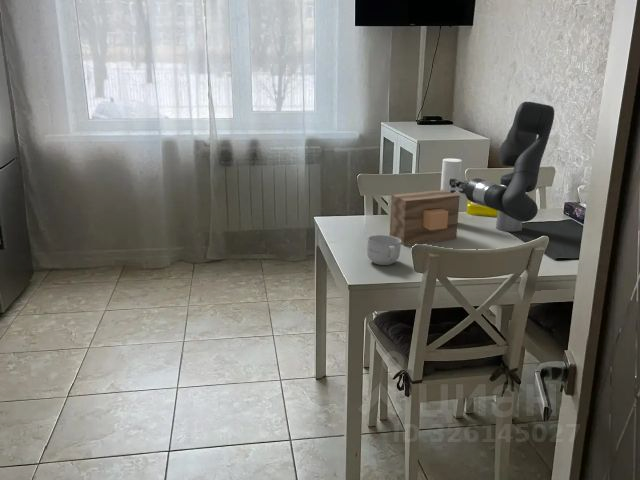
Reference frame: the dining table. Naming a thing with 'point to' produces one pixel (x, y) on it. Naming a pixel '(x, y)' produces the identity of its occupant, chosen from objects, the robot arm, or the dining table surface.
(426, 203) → the wooden box
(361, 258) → the dining table surface
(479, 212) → the element tile
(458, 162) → the cylindrical container
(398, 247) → the teacup
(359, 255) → the dining table surface
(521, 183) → the robot arm
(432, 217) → the light brown block
